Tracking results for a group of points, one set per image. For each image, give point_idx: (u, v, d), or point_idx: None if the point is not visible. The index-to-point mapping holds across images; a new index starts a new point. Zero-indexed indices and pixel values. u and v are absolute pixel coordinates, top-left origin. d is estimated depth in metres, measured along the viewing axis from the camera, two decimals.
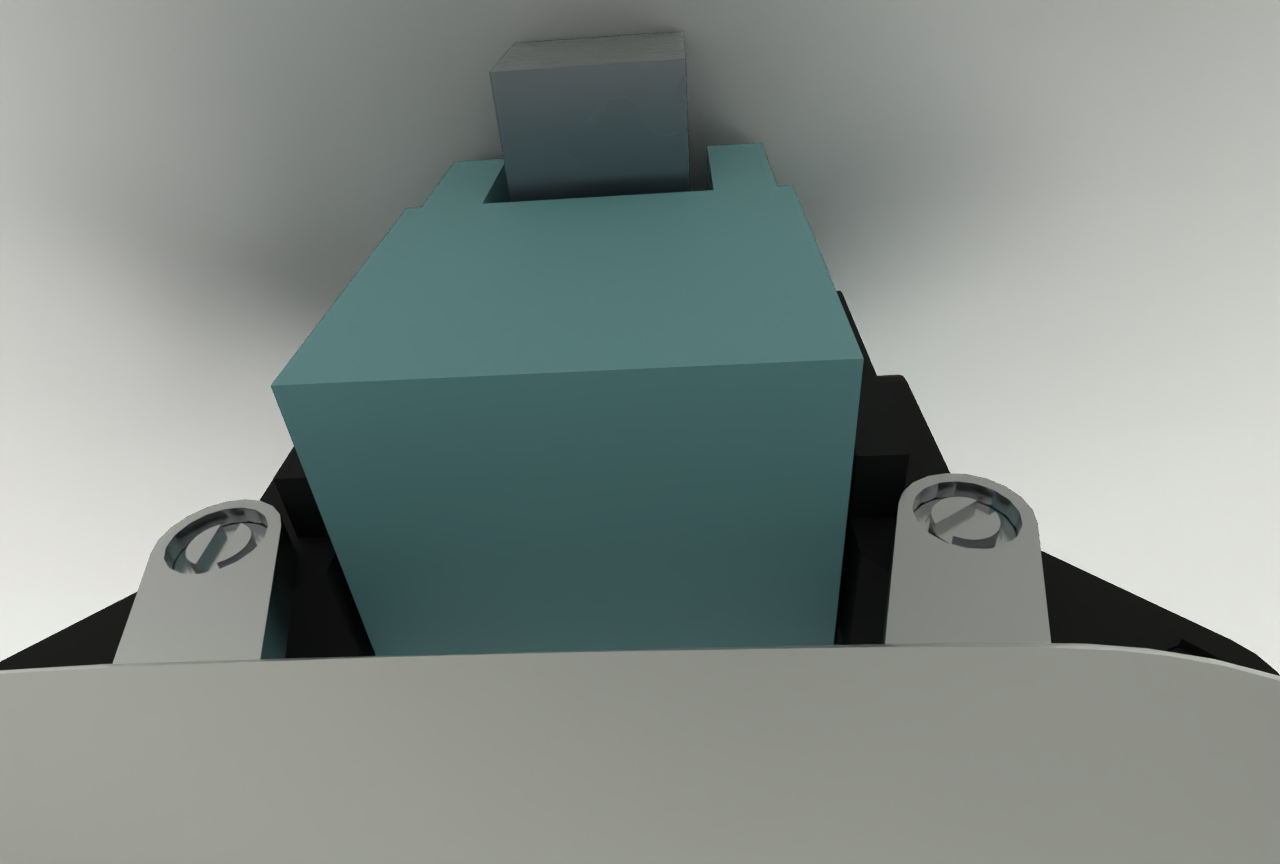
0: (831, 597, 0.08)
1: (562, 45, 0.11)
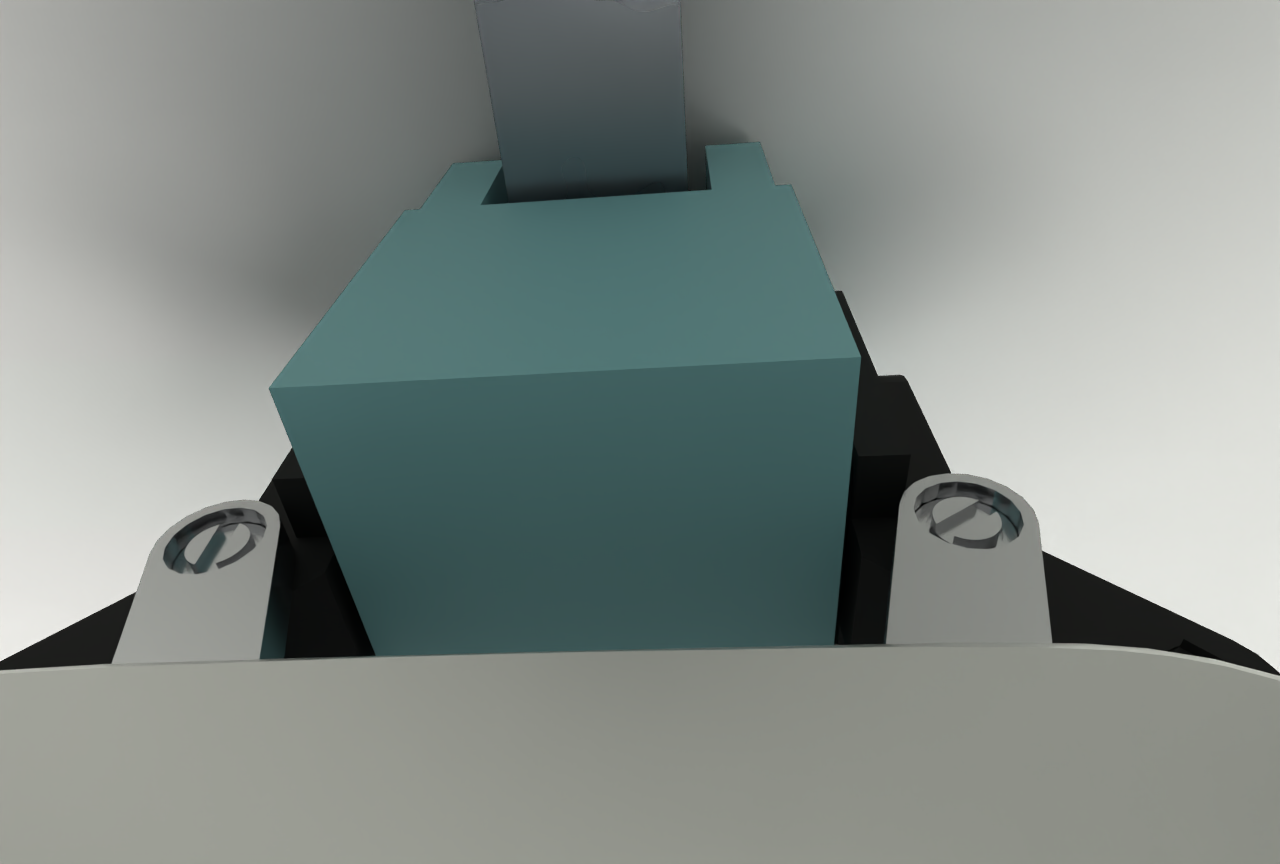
0: (831, 596, 0.08)
1: None
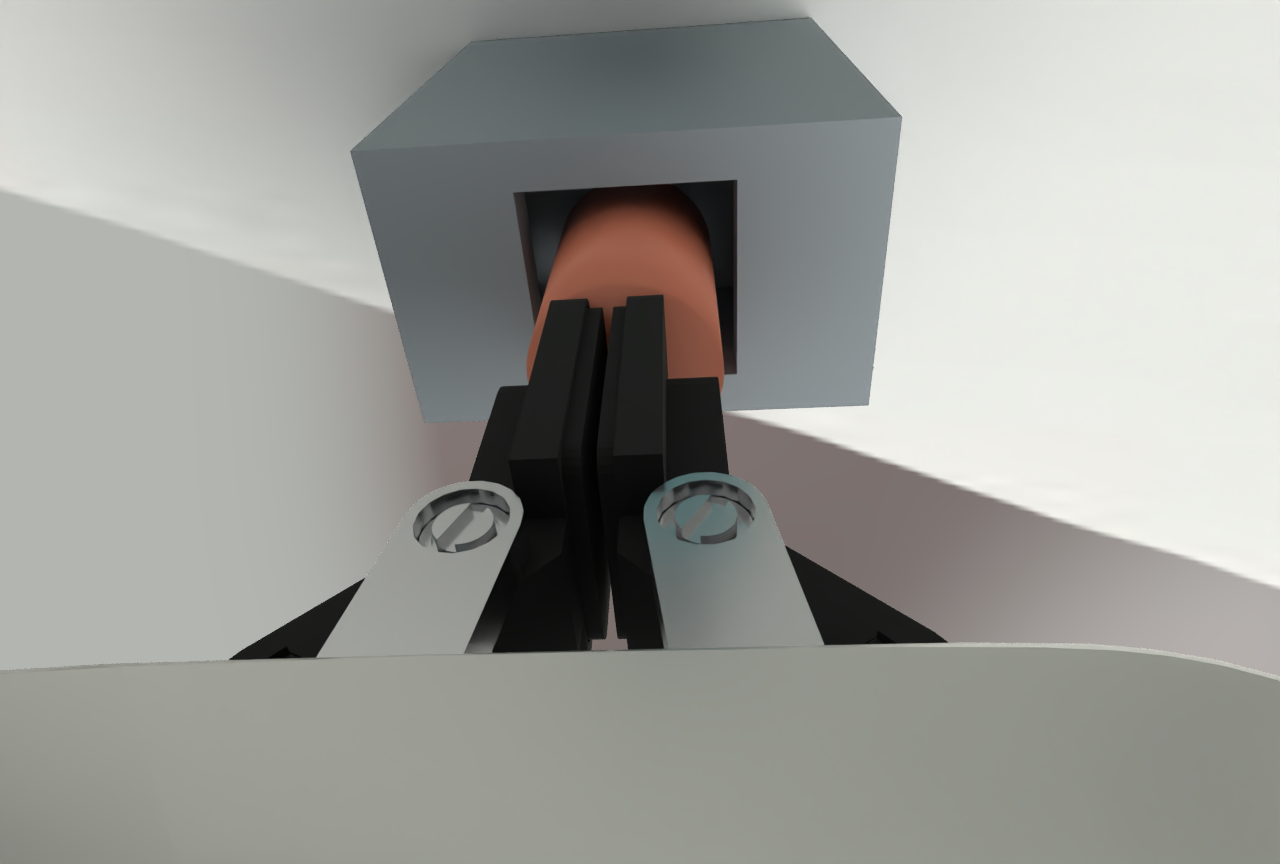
0: None
1: None
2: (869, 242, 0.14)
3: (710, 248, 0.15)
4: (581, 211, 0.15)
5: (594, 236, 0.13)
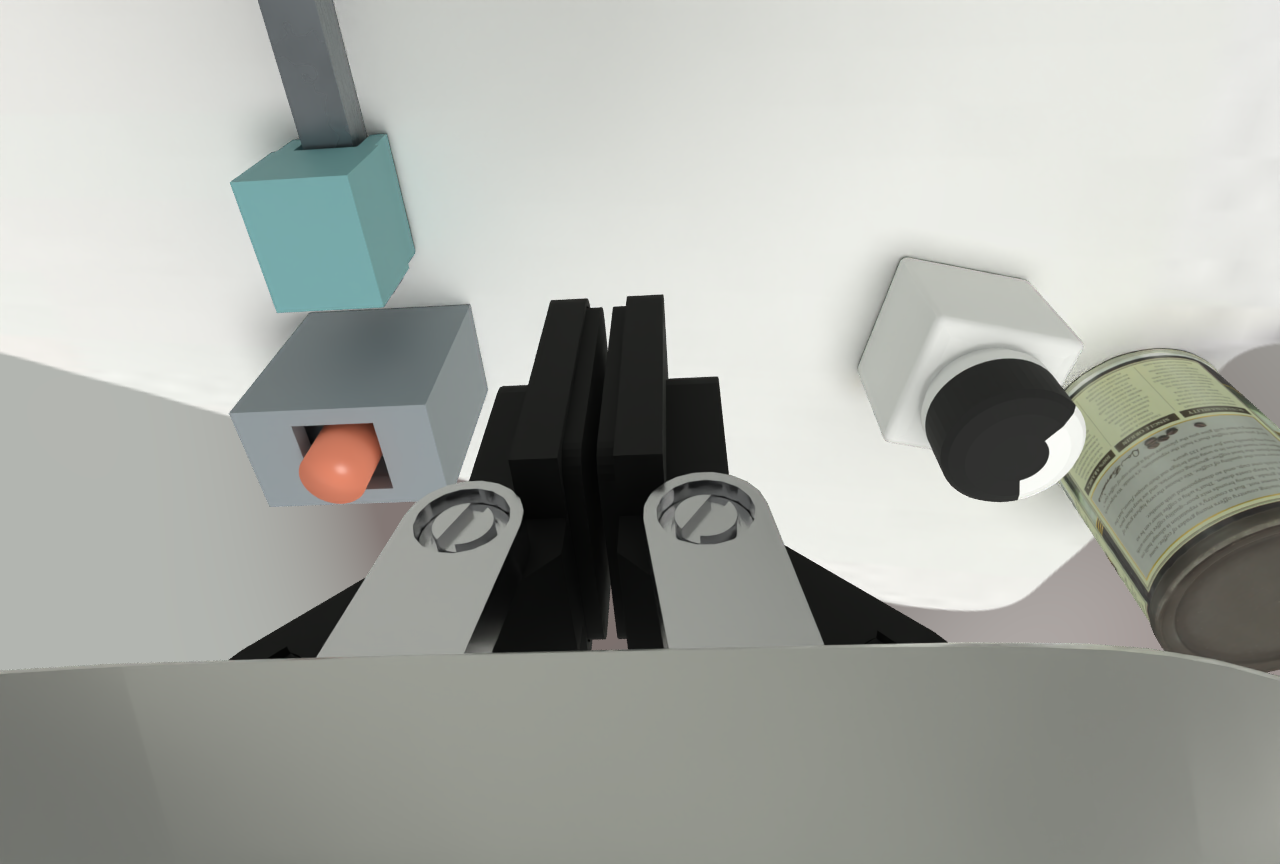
0: (362, 239, 0.34)
1: None
2: (428, 443, 0.37)
3: None
4: None
5: (328, 426, 0.37)
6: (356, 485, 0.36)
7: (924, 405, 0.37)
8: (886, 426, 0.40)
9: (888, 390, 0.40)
